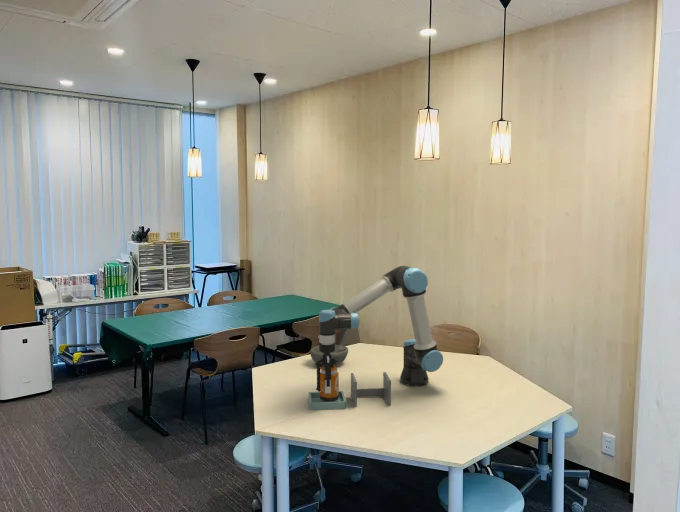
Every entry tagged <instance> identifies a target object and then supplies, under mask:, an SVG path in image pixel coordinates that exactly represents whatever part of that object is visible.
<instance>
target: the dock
mask: <svg viewBox="0 0 680 512" xmlns="http://www.w3.org/2000/svg"><path fill="white" fill-rule="evenodd" d="M382 377H383V378H382V383H383V384H382V386H383V387H374V388H372V387H370V388H358V381H357V379H356V376H355V374H354V372H351V373H350V399H351V401H352V404H353V407H354V408H357V407H358V406H357V405H358V398H379V397H383V398H384V400H385V403H386V404H387V406H390V407H391V405H392V380H391V379H390V377H389V375H388V374H387V372H385V371H383V373H382Z"/></svg>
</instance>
